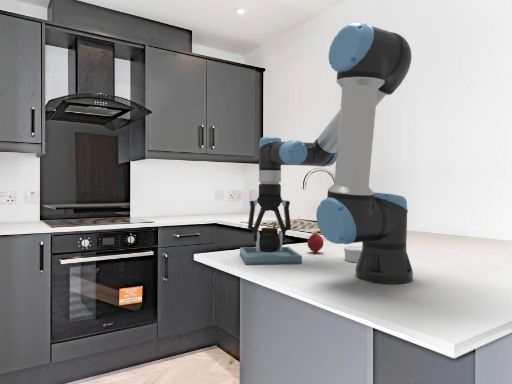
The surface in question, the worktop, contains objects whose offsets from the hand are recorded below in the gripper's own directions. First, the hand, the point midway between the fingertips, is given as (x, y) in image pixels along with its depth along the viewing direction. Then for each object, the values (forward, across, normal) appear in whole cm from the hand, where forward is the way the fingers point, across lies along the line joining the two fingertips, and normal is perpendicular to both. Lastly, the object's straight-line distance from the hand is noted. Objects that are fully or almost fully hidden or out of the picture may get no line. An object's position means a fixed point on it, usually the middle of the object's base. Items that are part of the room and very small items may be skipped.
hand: (269, 250), depth 134 cm
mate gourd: (0, 0, 0) cm, 0 cm away
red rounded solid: (+3, -19, -9) cm, 21 cm away
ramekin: (+3, -29, +6) cm, 30 cm away
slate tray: (+3, 0, 0) cm, 3 cm away
